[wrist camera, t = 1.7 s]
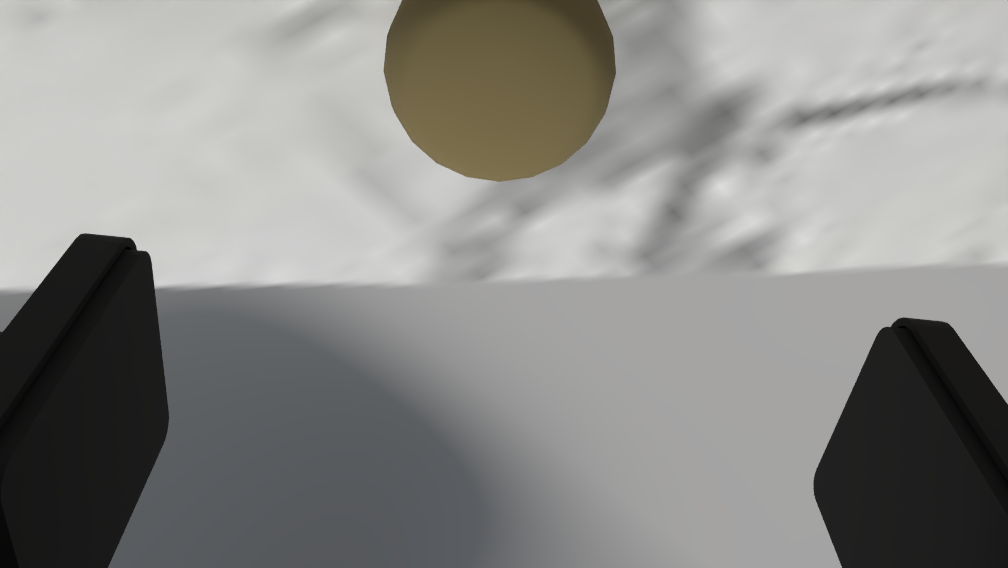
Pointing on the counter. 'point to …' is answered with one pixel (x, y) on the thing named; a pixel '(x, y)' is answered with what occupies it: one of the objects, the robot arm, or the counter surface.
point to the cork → (499, 81)
